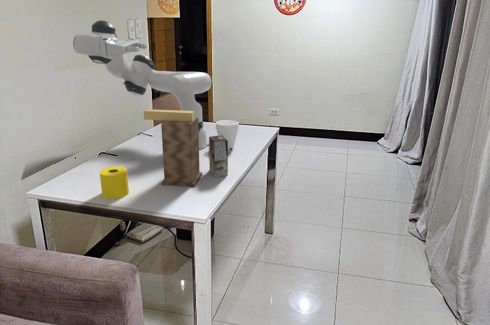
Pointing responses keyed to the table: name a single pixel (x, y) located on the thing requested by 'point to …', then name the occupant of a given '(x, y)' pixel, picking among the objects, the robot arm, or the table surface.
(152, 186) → the table surface
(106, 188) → the yellow toilet paper roll
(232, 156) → the table surface
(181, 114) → the bar
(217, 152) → the coffee box
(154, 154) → the table surface
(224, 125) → the cup
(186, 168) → the stand
